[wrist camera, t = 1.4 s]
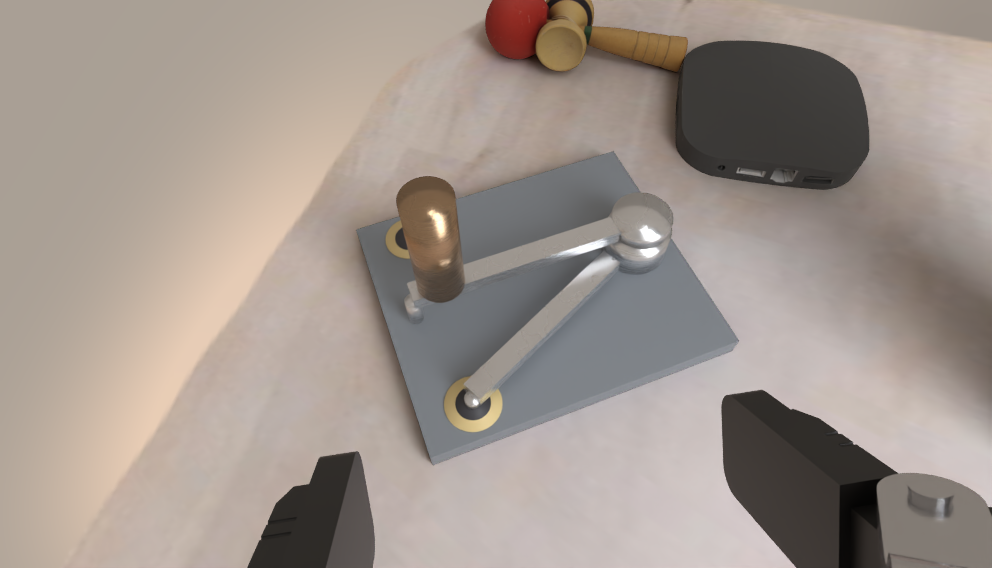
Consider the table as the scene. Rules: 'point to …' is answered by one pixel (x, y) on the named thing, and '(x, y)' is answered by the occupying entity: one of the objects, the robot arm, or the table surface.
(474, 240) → the hole plate
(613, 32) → the kendama
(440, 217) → the crank handle
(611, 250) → the divider pivot
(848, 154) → the media streaming box
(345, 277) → the table surface
